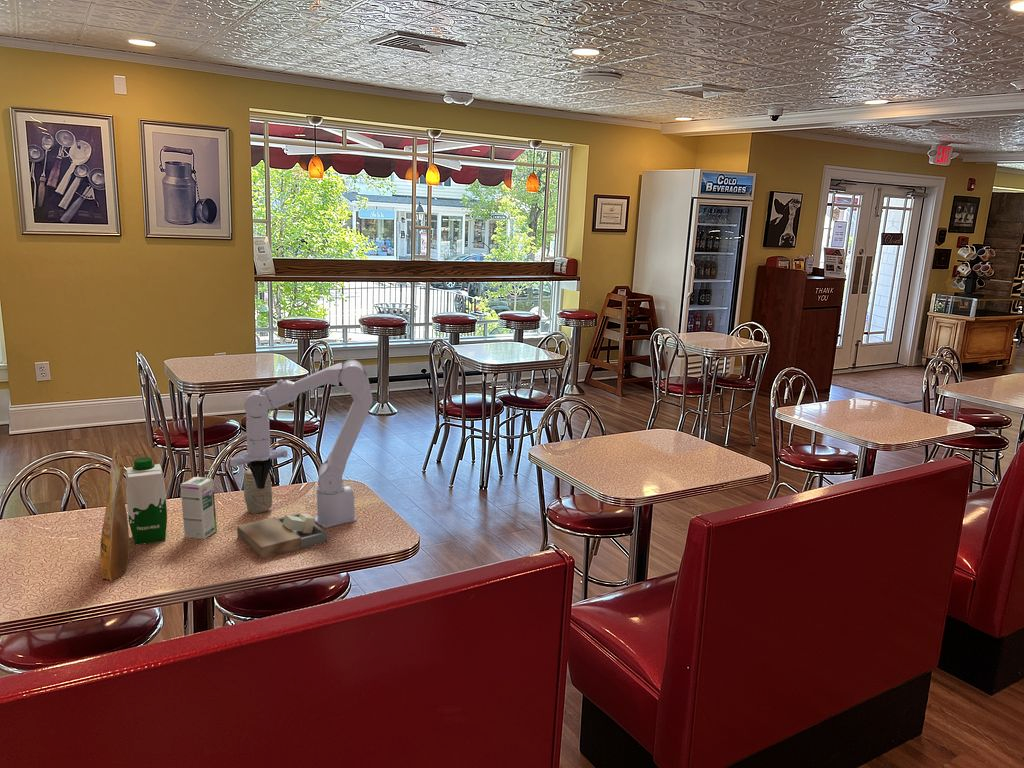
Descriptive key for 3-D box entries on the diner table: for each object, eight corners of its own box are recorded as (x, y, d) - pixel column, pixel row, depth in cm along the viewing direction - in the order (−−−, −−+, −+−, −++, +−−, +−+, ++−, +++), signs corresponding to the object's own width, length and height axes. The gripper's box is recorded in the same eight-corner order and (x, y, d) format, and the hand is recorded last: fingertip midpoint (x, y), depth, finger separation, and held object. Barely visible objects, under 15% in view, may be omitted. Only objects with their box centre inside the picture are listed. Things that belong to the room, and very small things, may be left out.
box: (300, 521, 207) (300, 513, 207) (327, 541, 195) (327, 532, 195) (275, 527, 203) (275, 518, 203) (301, 548, 191) (300, 539, 191)
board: (275, 527, 203) (275, 517, 202) (301, 548, 191) (300, 537, 190) (237, 536, 197) (237, 525, 196) (261, 558, 185) (261, 547, 184)
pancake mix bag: (136, 548, 189) (128, 438, 183) (132, 582, 172) (123, 462, 166) (105, 552, 186) (95, 440, 180) (98, 587, 169) (87, 465, 163)
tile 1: (296, 526, 200) (299, 517, 200) (302, 531, 197) (305, 521, 197) (282, 524, 197) (285, 514, 198) (288, 529, 194) (291, 519, 195)
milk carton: (167, 528, 201) (161, 455, 196) (169, 541, 193) (164, 465, 189) (129, 534, 197) (123, 459, 192) (130, 547, 189) (124, 469, 185)
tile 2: (296, 528, 200) (304, 528, 202) (302, 533, 197) (311, 533, 199) (300, 513, 200) (308, 513, 202) (306, 518, 197) (315, 518, 199)
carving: (241, 510, 215) (239, 468, 212) (268, 504, 219) (266, 464, 216) (249, 517, 210) (247, 475, 207) (276, 511, 214) (274, 470, 212)
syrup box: (204, 539, 195) (201, 485, 191) (183, 537, 196) (179, 483, 193) (217, 531, 200) (214, 478, 197) (196, 528, 201) (193, 475, 198)
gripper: (236, 446, 192) (238, 497, 195) (291, 437, 201) (293, 486, 204) (226, 439, 198) (228, 489, 200) (280, 430, 207) (282, 479, 209)
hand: (260, 487), depth 203 cm, fingers closed
